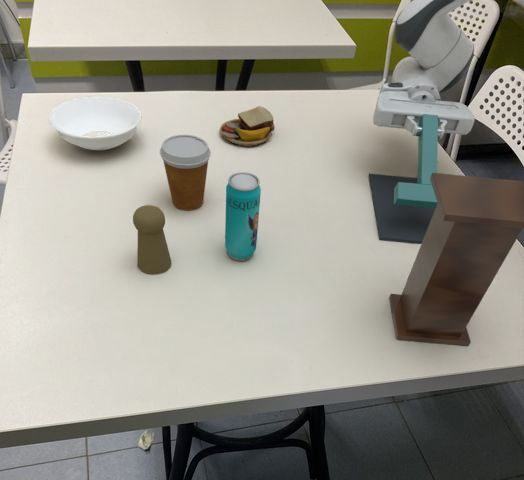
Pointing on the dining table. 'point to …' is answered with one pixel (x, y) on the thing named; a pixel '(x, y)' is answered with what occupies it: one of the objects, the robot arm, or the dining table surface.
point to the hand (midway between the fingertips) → (428, 133)
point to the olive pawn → (151, 240)
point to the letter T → (422, 168)
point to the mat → (397, 211)
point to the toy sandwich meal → (249, 127)
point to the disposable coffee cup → (186, 169)
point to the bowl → (95, 121)
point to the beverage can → (242, 215)
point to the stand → (458, 257)
